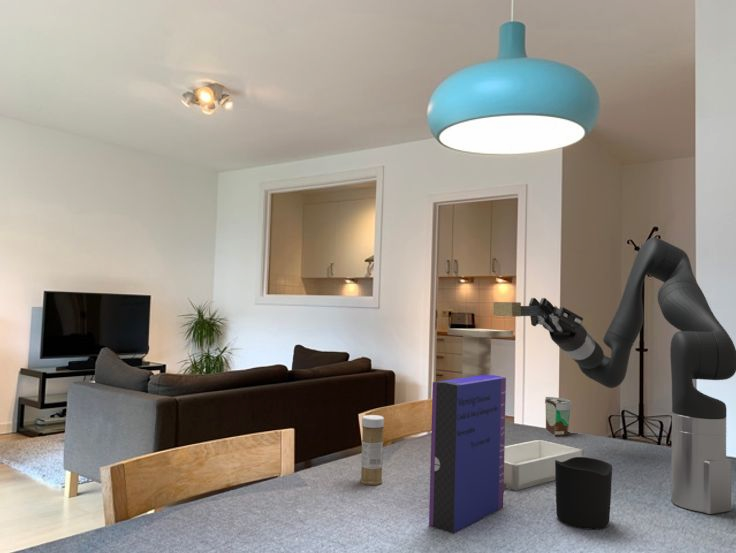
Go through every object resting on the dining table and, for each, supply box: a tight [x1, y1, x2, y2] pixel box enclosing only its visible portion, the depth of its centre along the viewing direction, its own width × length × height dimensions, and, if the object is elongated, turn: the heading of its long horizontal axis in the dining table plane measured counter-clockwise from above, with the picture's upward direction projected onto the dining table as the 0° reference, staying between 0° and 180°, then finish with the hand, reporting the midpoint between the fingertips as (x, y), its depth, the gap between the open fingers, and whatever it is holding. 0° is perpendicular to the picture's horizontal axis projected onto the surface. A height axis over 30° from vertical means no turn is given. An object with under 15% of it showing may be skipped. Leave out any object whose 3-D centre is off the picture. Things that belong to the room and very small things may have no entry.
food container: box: [544, 396, 573, 438], centre depth 178 cm, size 12×6×10 cm, turn 179°
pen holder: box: [555, 456, 613, 530], centre depth 105 cm, size 9×9×10 cm
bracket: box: [447, 328, 514, 491], centre depth 123 cm, size 10×9×32 cm
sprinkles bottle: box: [360, 414, 385, 486], centre depth 123 cm, size 5×5×14 cm
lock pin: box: [492, 301, 549, 317], centre depth 134 cm, size 18×5×3 cm, turn 129°
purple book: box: [428, 374, 507, 535], centre depth 106 cm, size 17×5×24 cm, turn 141°
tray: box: [504, 439, 585, 492], centre depth 133 cm, size 25×12×5 cm, turn 129°
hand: (536, 301), depth 136 cm, fingers closed on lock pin, 2 cm apart
